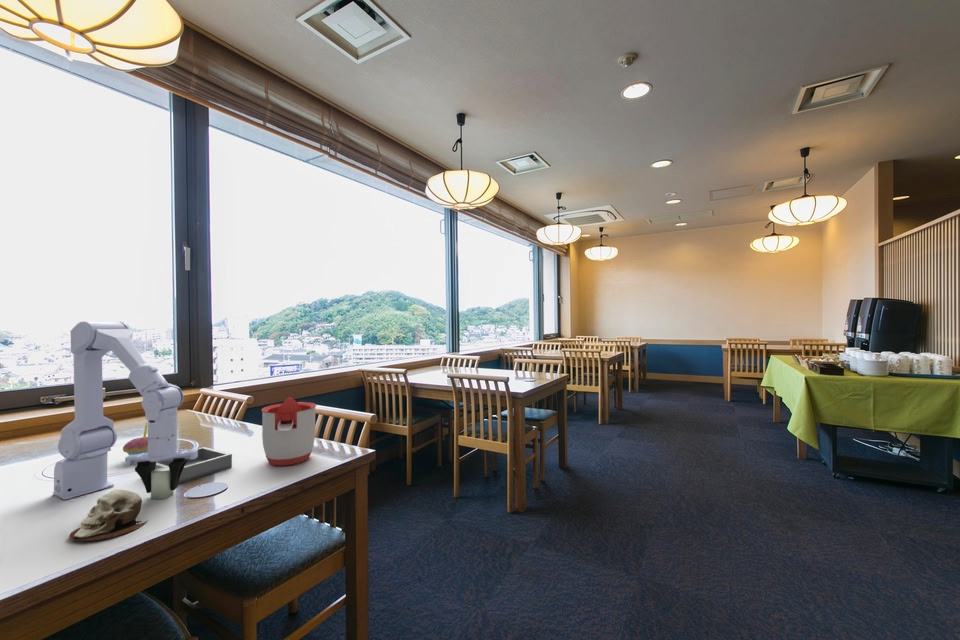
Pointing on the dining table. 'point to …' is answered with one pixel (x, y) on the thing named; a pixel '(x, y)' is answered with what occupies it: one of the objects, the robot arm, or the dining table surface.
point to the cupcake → (137, 444)
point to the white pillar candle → (160, 483)
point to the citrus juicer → (288, 431)
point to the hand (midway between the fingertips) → (162, 490)
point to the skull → (110, 517)
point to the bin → (202, 464)
